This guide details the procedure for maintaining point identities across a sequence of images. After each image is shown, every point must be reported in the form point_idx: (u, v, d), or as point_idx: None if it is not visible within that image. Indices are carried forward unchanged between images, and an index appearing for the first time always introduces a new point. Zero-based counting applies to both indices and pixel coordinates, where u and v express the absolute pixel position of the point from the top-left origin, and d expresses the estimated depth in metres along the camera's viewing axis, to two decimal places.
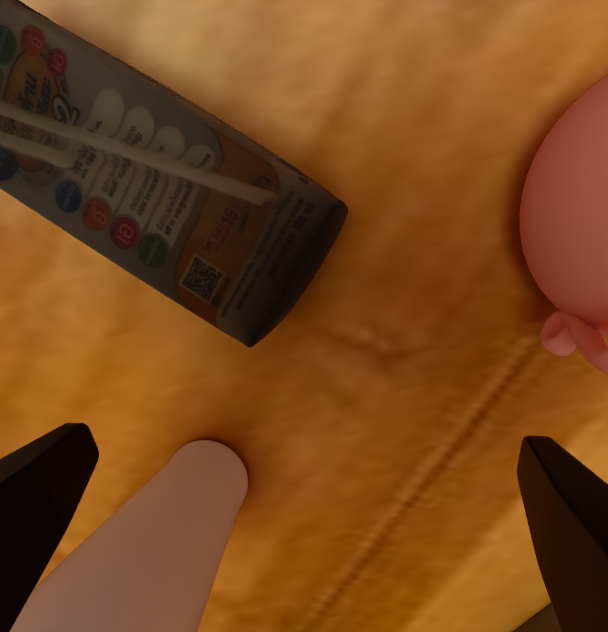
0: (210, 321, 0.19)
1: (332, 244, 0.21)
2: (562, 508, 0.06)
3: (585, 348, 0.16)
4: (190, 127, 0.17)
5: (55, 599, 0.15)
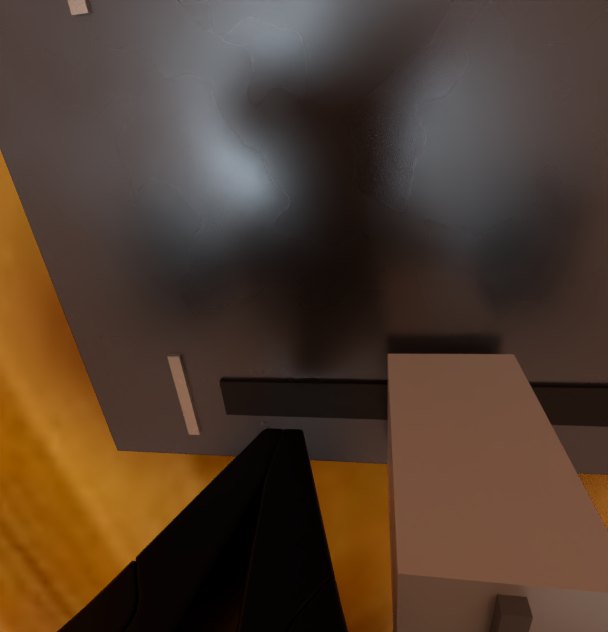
0: None
1: None
2: None
3: None
4: None
5: None
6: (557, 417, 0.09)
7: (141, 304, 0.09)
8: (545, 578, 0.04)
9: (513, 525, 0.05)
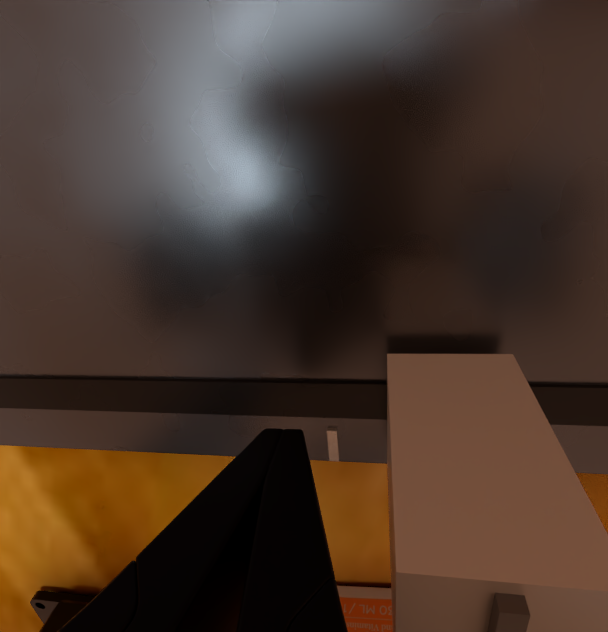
0: None
1: None
2: None
3: None
4: None
5: None
6: (251, 408, 0.10)
7: None
8: (544, 576, 0.04)
9: (510, 524, 0.05)
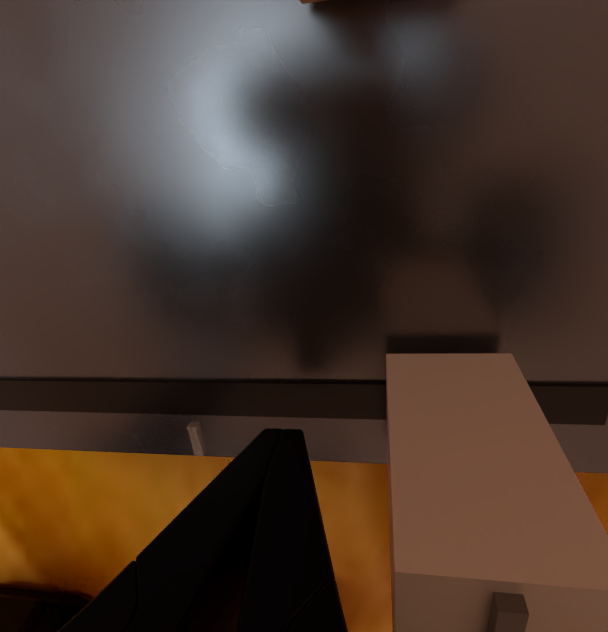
0: None
1: None
2: None
3: None
4: None
5: None
6: (117, 406, 0.11)
7: None
8: (542, 574, 0.04)
9: (510, 523, 0.05)
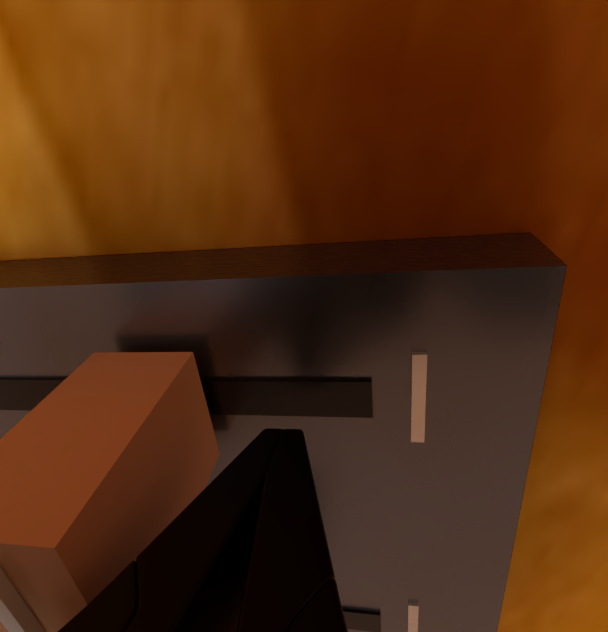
0: None
1: None
2: None
3: None
4: None
5: None
6: None
7: None
8: None
9: None
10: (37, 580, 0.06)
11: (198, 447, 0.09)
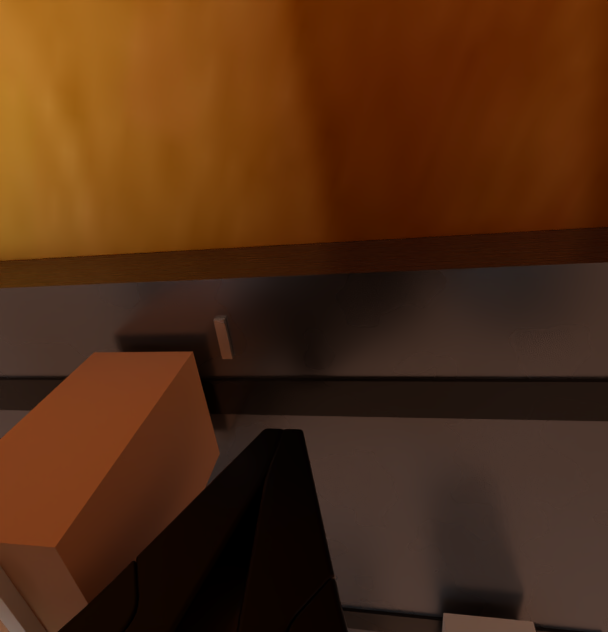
0: None
1: None
2: None
3: None
4: None
5: None
6: None
7: None
8: None
9: None
10: (38, 579, 0.06)
11: (198, 447, 0.09)
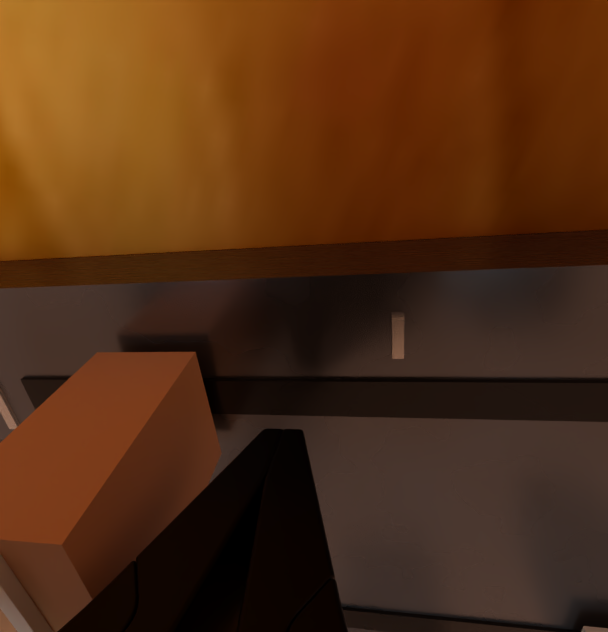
0: None
1: None
2: None
3: None
4: None
5: None
6: None
7: None
8: None
9: None
10: (44, 577, 0.06)
11: (200, 446, 0.09)
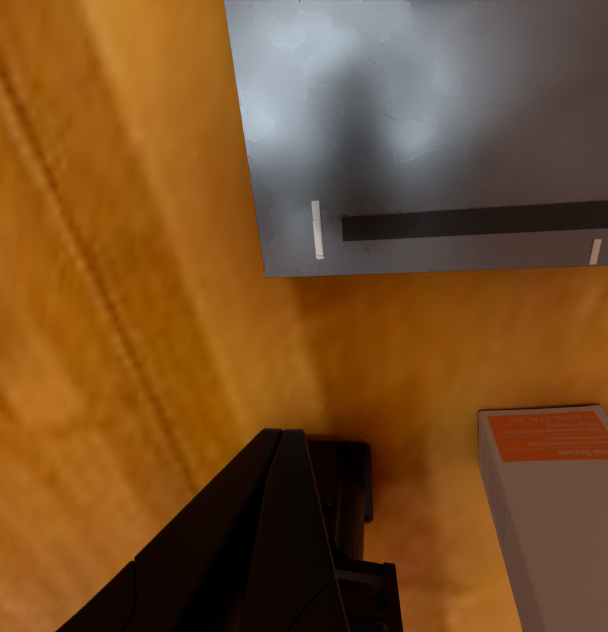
0: None
1: None
2: None
3: None
4: None
5: None
6: (542, 227, 0.16)
7: (300, 167, 0.16)
8: None
9: None
10: None
11: None
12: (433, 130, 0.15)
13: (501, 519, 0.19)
